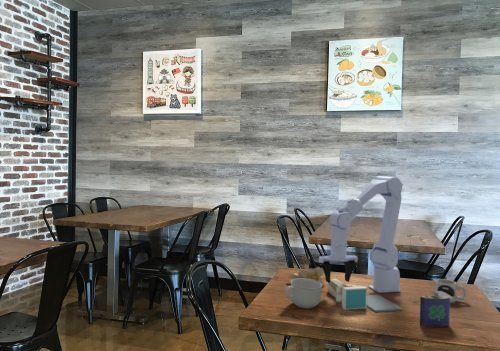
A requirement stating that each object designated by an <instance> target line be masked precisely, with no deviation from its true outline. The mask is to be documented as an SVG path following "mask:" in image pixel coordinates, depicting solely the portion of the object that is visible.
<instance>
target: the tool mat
mask: <svg viewBox="0 0 500 351" xmlns="http://www.w3.org/2000/svg"><path fill="white" fill-rule="evenodd" d="M366 308H368V309H370V310H372V311H373V312H374V313H383V312H396V311H403V308H402V307H400V306H399V305H397V304H395V303H394V302H392V301H390V300H388V299H386V298H385V297H383V296H382V295H380V294H367V301H366Z"/></svg>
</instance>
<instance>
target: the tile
mask: <svg viewBox="0 0 500 351" xmlns="http://www.w3.org/2000/svg"><path fill="white" fill-rule="evenodd" d="M367 295H368V287H366V286H365V285H361V286H352V287H343V288H342V301H341V308H342V309H343V310H344V311H345V310H360V309H367V306H366V301H367Z"/></svg>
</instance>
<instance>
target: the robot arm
mask: <svg viewBox="0 0 500 351" xmlns="http://www.w3.org/2000/svg"><path fill="white" fill-rule="evenodd" d="M403 185H404V184H403V183H402V181H401V180H400V178H398V177H397V176H385V175H384V176H383V175H377V176H375V177H374V178H373V179H372V180H370V184H369V185H368V186H367V187H366V188H365V189H364V190H363V191H362V192H361V193H360V194H359V195H358V196H357V197H356V198H351V199H348V200H347V201H346V203H345V204H344V205H342V207H340V208H338V210H337V211H333V212H332V213H331V214H330V216H329V218H328V219H327V220H328V224H329V225H330V231H331V232H330V233H331V235H330V255H324V256H318V263H320V265H321V268H323V271H324V274H323V275H324V276H325V277H324V278H325V283H327V284H328V283H330V279H331V274H332V272H331V271H332V267H333V265H332V264H331V263H344V281H345V282H347V283H348V282H350V279H351V276H352V274H353V272H354V270H355V268H356V266H357V263H358V257H359V256H357V255H349V254H348V255H347V252H348V251H347V248H348V246H347V244H348V229H349V228H350V226H351V224H352V221H354V219H355V217H356V216H358V215H359V214H360V213H361V212H362V211H363V210H364V208H363V207H364V205H365V204H366V203H368V202H369V201H370V200H371V199H373V198H374V197H376V195H380V196H381V197H382V198H383V199H384V201H385V204H384V210H383V217H382V220H381V226H380V231H379V237H378V240H377V241H376V242H375V243H374V244H373V247H372V249H371V251H370V253H369V260H370V262H371V263H372V266H373V269H372V270H373V271H372V272H373V276H372V277H373V278H372V285H371V284H370V285H368V287H367V288H369V289H372V290H373V291H375V292H376V293H379V294H380V293H394V292H395V293H397V292H401V290H400V285H401V284H400V283H401V282H400V280H401V276H400V275H401V273H400V270H399V268H398V266H397V265H398V261H399V258H398V257H399V256H398V252H399V250H398V248H397V246H396V245H395V244H394V241H395V236H396V231H397V225H398V221H399V215H400V210H401V206H402V198H403V197H402V190H403Z"/></svg>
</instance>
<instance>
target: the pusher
mask: <svg viewBox="0 0 500 351" xmlns="http://www.w3.org/2000/svg"><path fill="white" fill-rule="evenodd" d="M343 287H353V286H352V285H347V284H345V283H344V282H342V281H340V280H339V279H337V278H330V283H328V282H327V293H328V294H330V295H331V296H332V297H334V298H335V302H337V303H338V302H342V288H343Z"/></svg>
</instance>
